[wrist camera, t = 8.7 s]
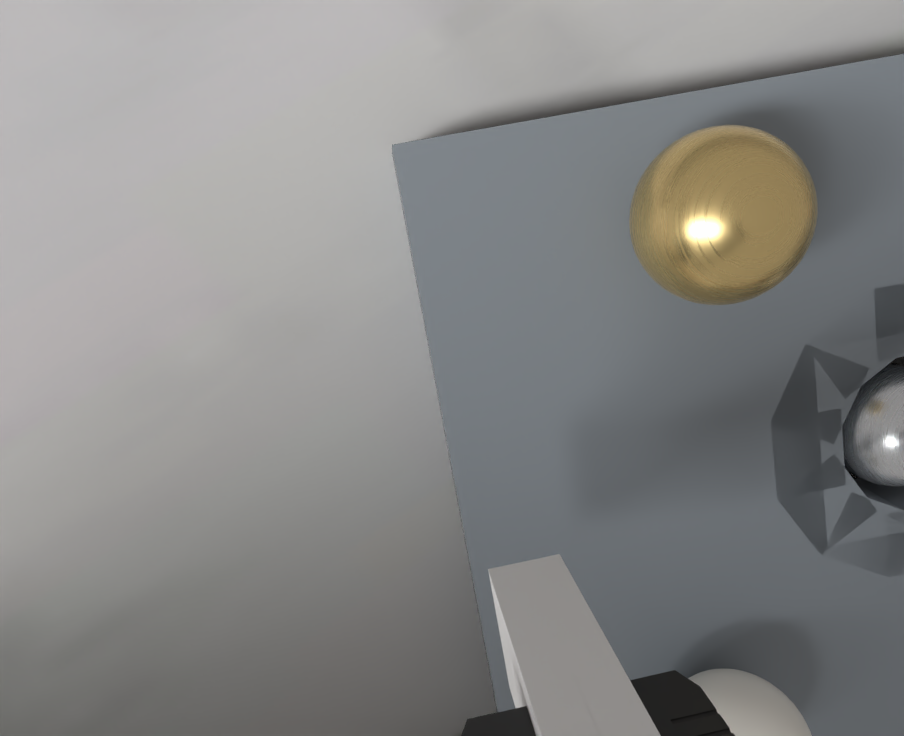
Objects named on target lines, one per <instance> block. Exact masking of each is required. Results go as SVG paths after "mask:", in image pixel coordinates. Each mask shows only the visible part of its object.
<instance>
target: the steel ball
mask: <svg viewBox="0 0 904 736" xmlns="http://www.w3.org/2000/svg"><path fill="white" fill-rule="evenodd" d="M842 433H843V449H844V464H845V468H846V469H847V470H848V471H850V472H851V473H853V474H854V475H856V476H857V477H859V478H862V479H864V480H866V481H868V482H872V483H875V484H879V485H885V486H904V365H896V364H888V365H887V366H886V367H884V368H883V369H882V370H881V371H879V372H878V373H877V374H876V375H874V376H873V377H872V378H871V379H869V380H868V381H867V382H866V383H864V384H863V385H862V386H861V387H860V389H859V391H858V394H857V396H856V398H855V400H854V402H853V404H852V406H851V409H850V411H849V413H848V415H847V417H846V419H845V421H844V424H843V426H842Z"/></svg>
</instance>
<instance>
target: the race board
mask: <svg viewBox="0 0 904 736" xmlns="http://www.w3.org/2000/svg"><path fill="white" fill-rule="evenodd" d="M721 125H741V126H747V127H752V128H756V129H759V130H762V131H765V132H767V133H769V134H771V135H773V136H775V137H777V138H779V139H780V140H782V141H783V142H784V143H786V144H787V145H789V146H790V147H791V148H792V149H793V150H794V151H795V152H796V153H797V155H798V156H799V157H800V158H801V160H802V161H803V162H804V164H805V166H806V167H807V169H808V171H809V173H810V175H811V177H812V180H813V182H814V186H815V190H816V195H817V203H818V214H817V222H816V227H815V232H814V235H813V238H812V241H811V243H810V246H809V248H808V250H807V252H806V254H805V255H804V257H803V258H802V260H801V261H800V263H799V264H798V265H797V266H796V268H795V269H794V270H793V271H792V272H791V274H790V275H789V276H787V277H786V278H785V279H784V280H783V281H782V282H781V283H779V284H778V285H777V286H775V287H774V288H772V289H771V290H769V291H767V292H765V293H763V294H762V295H760V296H758V297H755V298H753V299H750V300H747V301H743V302H739V303H735V304H728V305H706V304H699V303H694V302H690V301H687V300H684V299H682V298H680V297H678V296H675V295H673V294H671V293H670V292H668V291H666V290H665V289H663V288H662V287H661V286H660V285H658V284H657V283H656V282H655V281H654V280H653V279H652V278H651V277H650V276H649V274H648V273H647V272H646V271H645V270H644V268H643V267H642V265H641V263H640V262H639V260H638V258H637V256H636V254H635V251H634V248H633V245H632V241H631V236H630V227H629V216H630V207H631V202H632V198H633V195H634V192H635V188H636V186H637V184H638V182H639V180H640V178H641V176H642V175H643V173H644V171H645V170H646V168H647V167H648V166H649V164H650V163H651V162H652V161H653V160H654V158H655V157H656V156H657V155H659V154H660V153H661V152H662V151H663V150H664V149H665V148H666V147H668V146H669V145H670V144H672V143H673V142H674V141H676V140H678V139H680V138H681V137H683V136H685V135H687V134H690V133H692V132H695V131H697V130H700V129H704V128H708V127H712V126H721ZM392 154H393V159H394V165H395V170H396V175H397V181H398V186H399V191H400V197H401V202H402V207H403V213H404V218H405V223H406V229H407V234H408V239H409V245H410V250H411V255H412V261H413V266H414V271H415V277H416V282H417V287H418V292H419V298H420V303H421V308H422V314H423V319H424V324H425V330H426V335H427V340H428V346H429V351H430V356H431V362H432V367H433V372H434V378H435V383H436V388H437V394H438V399H439V404H440V410H441V415H442V420H443V425H444V431H445V436H446V441H447V447H448V452H449V457H450V463H451V468H452V473H453V479H454V484H455V489H456V495H457V500H458V505H459V511H460V516H461V521H462V527H463V532H464V537H465V543H466V548H467V553H468V559H469V564H470V569H471V574H472V580H473V585H474V590H475V596H476V601H477V606H478V612H479V617H480V622H481V628H482V633H483V638H484V644H485V649H486V654H487V660H488V665H489V670H490V676H491V681H492V686H493V692H494V697H495V702H496V707H497V713H498V712H502V711H506V710H511V709H515V705H514V701H513V698H512V694H511V691H510V687H509V682H508V677H507V671H506V665H505V660H504V654H503V649H502V643H501V638H500V632H499V627H498V621H497V616H496V610H495V605H494V599H493V594H492V588H491V583H490V577H489V572H488V569H491V568H496V567H501V566H506V565H510V564H515V563H520V562H524V561H529V560H534V559H538V558H543V557H548V556H552V555H557V554H560V556H561V558H562V560H563V561H564V563H565V565H566V567H567V568H568V570H569V572H570V574H571V576H572V577H573V579H574V581H575V583H576V585H577V586H578V588H579V590H580V592H581V594H582V595H583V597H584V599H585V601H586V603H587V604H588V606H589V608H590V610H591V612H592V613H593V615H594V617H595V619H596V620H597V622H598V624H599V626H600V628H601V629H602V631H603V633H604V635H605V637H606V638H607V640H608V642H609V644H610V646H611V647H612V649H613V651H614V653H615V655H616V656H617V658H618V660H619V662H620V664H621V665H622V667H623V669H624V671H625V672H626V674H627V676H628V678H629V680H633V679H638V678H642V677H646V676H651V675H655V674H660V673H664V672H669V671H673V670H675V671H677V672H679V673H680V674H682V675H683V676H685V677H686V678H689V677H691V676H693V675H695V674H697V673H700V672H703V671H706V670H711V669H723V668H724V669H736V670H741V671H745V672H748V673H751V674H754V675H756V676H758V677H760V678H762V679H764V680H766V681H768V682H770V683H771V684H772V685H774V686H775V687H776V688H778V689H779V690H780V691H782V692H783V693H784V694H785V695H786V696H787V697H788V698H789V699H790V700H791V701H792V702H793V703H794V705H795V706H796V708H797V709H798V710H799V712H800V713H801V715H802V716H803V718H804V720H805V722H806V724H807V726H808V728H809V730H810V732H811V735H812V736H904V486H885V485H879V484H875V483H872V482H868V481H866V480H864V479H862V478H855V479H853V478H852V477H851V475H850V474H849V473H848V471H847V470H846V469H845V464H844V449H843V433H842V426H843V424H844V421H845V419H846V417H847V415H848V413H849V411H850V409H851V406H852V404H853V402H854V400H855V398H856V396H857V394H858V391H859V389H860V387H861V386H862V385H863V384H864V383H866V382H867V381H868V380H869V379H871V378H872V377H873V376H874V375H876V374H877V373H878V372H879V371H881V370H882V369H883V368H884V367H886V366H887V365H888V364H889V363H891V362H892V361H893V360H894V359H896V358H898V357H903V356H904V54H899V55H894V56H888V57H883V58H877V59H871V60H866V61H860V62H855V63H849V64H843V65H838V66H832V67H826V68H821V69H815V70H810V71H804V72H798V73H793V74H787V75H782V76H776V77H770V78H765V79H759V80H753V81H748V82H742V83H737V84H731V85H725V86H720V87H714V88H709V89H703V90H697V91H692V92H686V93H680V94H675V95H669V96H664V97H658V98H652V99H647V100H641V101H635V102H630V103H624V104H619V105H613V106H607V107H602V108H596V109H591V110H585V111H579V112H574V113H568V114H562V115H557V116H551V117H546V118H540V119H534V120H529V121H523V122H518V123H512V124H506V125H501V126H495V127H489V128H484V129H478V130H473V131H467V132H461V133H456V134H450V135H445V136H439V137H433V138H428V139H422V140H416V141H411V142H405V143H400V144H394V145H392Z"/></svg>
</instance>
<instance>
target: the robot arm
mask: <svg viewBox="0 0 904 736" xmlns="http://www.w3.org/2000/svg"><path fill="white" fill-rule="evenodd" d="M488 572H489V577H490V583H491V588H492V594H493V599H494V605H495V610H496V616H497V621H498V627H499V632H500V638H501V643H502V649H503V654H504V660H505V665H506V671H507V677H508V682H509V687H510V691H511V694H512V698H513V701H514V705H515V709H511V710H506V711H502V712H498V713H493V714H489V715H484V716H480V717H475V718H471V719H467V722H466V725H465V727H464V730H463V733H462V736H735V735H734V734H733V733H731V731H730V728H729V727H728V725H727V724H726V722H725V721H724V719H723V718H722V717H721V715H720V714H718V713H717V710H716V708H715V707H714V705H713V704H712V702H711V701H710V700H709V698H708V697H707V695H706V694H705V692H704V691H703V690H702V688H701V687H700V686H699V685H697V684H696V683H694V682H692V681H691V680H689V679H688V678H686V677H685V676H683V675H682V674H680V673H679V672H677V671H675V670H673V671H669V672H664V673H660V674H655V675H651V676H646V677H642V678H638V679H633V680H629V678H628V676H627V674H626V672H625V671H624V669H623V667H622V665H621V664H620V662H619V660H618V658H617V656H616V655H615V653H614V651H613V649H612V647H611V646H610V644H609V642H608V640H607V638H606V637H605V635H604V633H603V631H602V629H601V628H600V626H599V624H598V622H597V620H596V619H595V617H594V615H593V613H592V612H591V610H590V608H589V606H588V604H587V603H586V601H585V599H584V597H583V595H582V594H581V592H580V590H579V588H578V586H577V585H576V583H575V581H574V579H573V577H572V576H571V574H570V572H569V570H568V568H567V567H566V565H565V563H564V561H563V560H562V558H561V556H560V554H557V555H552V556H548V557H543V558H538V559H534V560H529V561H524V562H520V563H515V564H510V565H506V566H501V567H496V568H491V569H488Z"/></svg>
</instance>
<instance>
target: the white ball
mask: <svg viewBox="0 0 904 736" xmlns="http://www.w3.org/2000/svg"><path fill="white" fill-rule="evenodd" d="M688 679H689V680H691V681H692V682H694V683H696V684H697V685H699V686H700V687H701V688H702V690H703V691H704V692H705V694H706V695H707V697H708V698H709V700H710V701H711V702H712V704H713V705H714V707H715V708H716V710H717V713H718V714H720V715H721V717H722V718H723V719H724V721H725V722H726V724H727V725H728V727H729V728H730V731H731V733H733V734H734V735H735V736H812V735H811V732H810V730H809V728H808V726H807V724H806V722H805V720H804V718H803V716H802V715H801V713H800V712H799V710H798V709H797V708H796V706H795V705H794V703H793V702H792V701H791V700H790V699H789V698H788V697H787V696H786V695H785V694H784V693H783V692H782V691H780V690H779V689H778V688H776V687H775V686H774V685H772V684H771V683H770V682H768V681H766V680H764V679H762V678H760V677H758V676H756V675H754V674H751V673H748V672H745V671H741V670H736V669H724V668H723V669H711V670H706V671H703V672H700V673H697V674H695V675H693V676H691V677H689V678H688Z"/></svg>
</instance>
